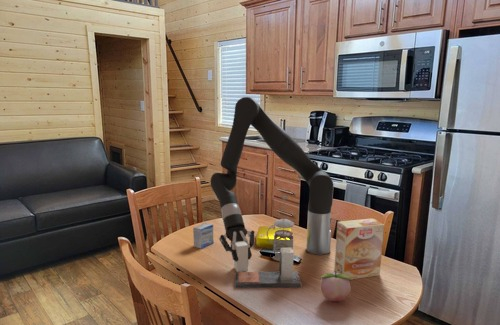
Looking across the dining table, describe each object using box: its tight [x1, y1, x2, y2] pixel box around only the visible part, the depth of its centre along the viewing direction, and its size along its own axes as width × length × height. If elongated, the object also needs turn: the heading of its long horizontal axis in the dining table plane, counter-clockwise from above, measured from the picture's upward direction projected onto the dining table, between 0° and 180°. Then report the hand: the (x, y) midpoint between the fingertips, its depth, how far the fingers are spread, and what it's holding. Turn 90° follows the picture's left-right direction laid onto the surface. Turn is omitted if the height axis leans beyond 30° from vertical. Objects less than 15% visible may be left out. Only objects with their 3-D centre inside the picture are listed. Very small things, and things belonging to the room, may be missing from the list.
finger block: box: [233, 241, 249, 272], centre depth 129 cm, size 4×4×10 cm
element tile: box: [255, 225, 292, 249], centre depth 156 cm, size 15×15×5 cm
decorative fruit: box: [319, 271, 352, 302], centre depth 109 cm, size 9×8×10 cm
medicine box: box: [192, 222, 215, 250], centre depth 150 cm, size 8×4×9 cm, turn 143°
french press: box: [267, 195, 295, 262], centre depth 139 cm, size 10×12×25 cm
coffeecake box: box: [333, 217, 385, 280], centre depth 126 cm, size 15×7×20 cm, turn 105°
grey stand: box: [234, 248, 302, 289], centre depth 120 cm, size 22×8×12 cm, turn 92°
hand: (243, 259), depth 128 cm, fingers closed on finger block, 4 cm apart
